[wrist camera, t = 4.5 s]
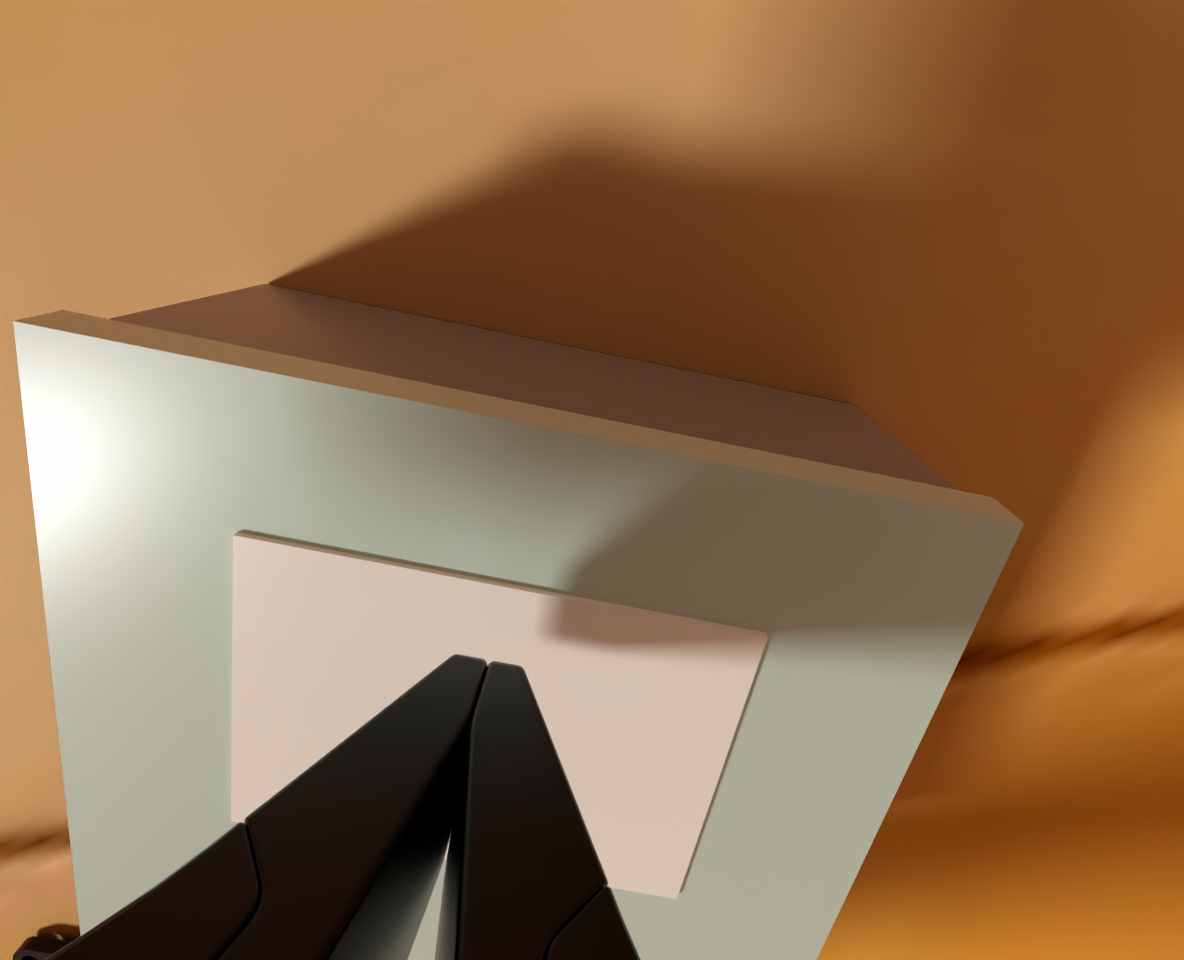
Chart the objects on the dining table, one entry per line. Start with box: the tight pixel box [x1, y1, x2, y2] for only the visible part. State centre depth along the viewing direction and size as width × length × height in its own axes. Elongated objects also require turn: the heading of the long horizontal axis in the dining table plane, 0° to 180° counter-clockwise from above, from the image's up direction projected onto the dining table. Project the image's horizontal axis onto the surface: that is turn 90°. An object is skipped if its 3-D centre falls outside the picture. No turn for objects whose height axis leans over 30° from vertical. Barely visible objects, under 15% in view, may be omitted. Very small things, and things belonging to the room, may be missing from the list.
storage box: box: [110, 284, 957, 490], centre depth 14 cm, size 12×12×5 cm
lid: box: [13, 310, 1025, 960], centre depth 11 cm, size 12×12×1 cm
